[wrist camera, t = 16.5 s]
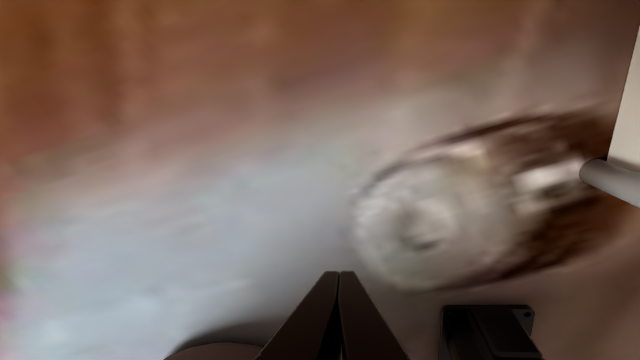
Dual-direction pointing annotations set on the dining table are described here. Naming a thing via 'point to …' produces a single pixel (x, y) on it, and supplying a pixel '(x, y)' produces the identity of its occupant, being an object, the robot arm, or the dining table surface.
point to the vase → (218, 352)
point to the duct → (622, 144)
